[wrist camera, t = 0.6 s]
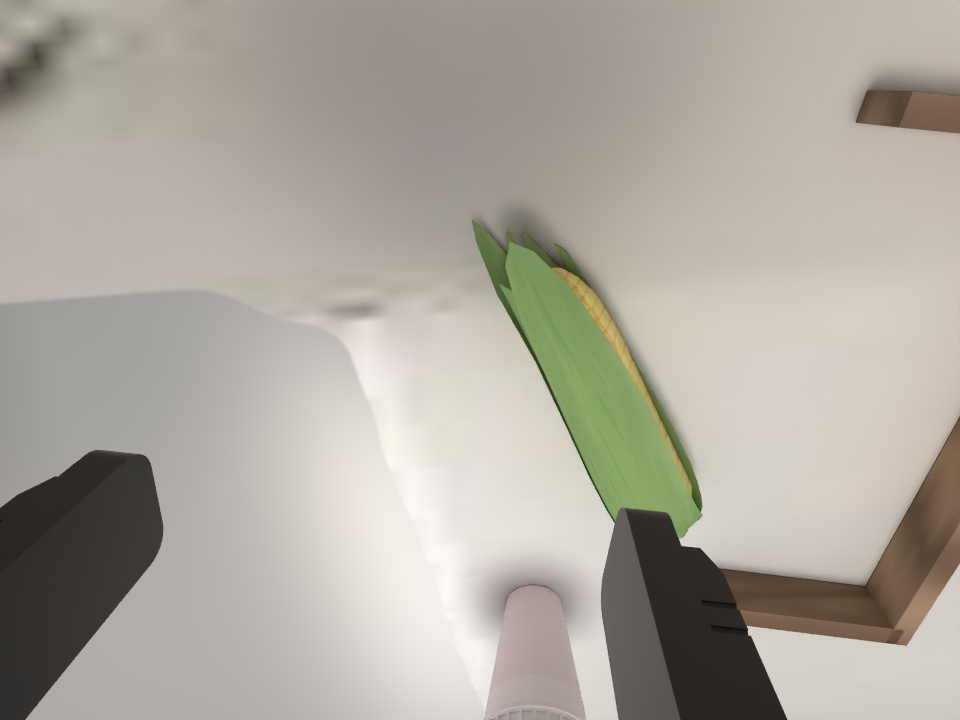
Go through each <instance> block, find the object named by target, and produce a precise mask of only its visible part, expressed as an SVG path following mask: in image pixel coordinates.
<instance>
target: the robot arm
mask: <svg viewBox="0 0 960 720" xmlns="http://www.w3.org/2000/svg"><path fill="white" fill-rule="evenodd" d="M162 537H163V522H162V517H161V512H160V507H159V502H158V497H157V493H156V487H155V482H154V477H153V472H152V467H151V463H150V461H149V460H148V458H147V457H146V456H144V455H141V454H133V453H123V452H113V451H104V450H95V451H91V452H89V453H88V454H86V455H85V456H83V457H82V458H81V459H80V460H78V462H76V463H75V464H73V465H72V466H71V467H70V468H69V469H67V470H66V471H65V472H63V473H62V474H61V475H60V476H58V477H53V478H51V479H49V480H47V481H45V482H43V483H41V484H39V485H37V486H35V487H33V488H31V489H29V490H27V491H24V492H22V493H20V494H18V495H17V496H15V497H14V498H13V499H11V500H10V501H9V502H8V503H6V504H5V505H4V506H2V507H1V508H0V720H25V719H26V718H27V717H28V715H29V714H30V713H31V712H32V710H33V709H34V708H35V707H36V706H37V704H38V703H39V701H41V699H42V698H43V697H44V696H45V694H46V693H47V692H48V690H49V689H50V688H51V687H52V686H53V684H54V683H55V682H56V681H57V680H58V678H59V677H60V676H61V675H62V673H63V672H64V671H65V670H66V668H67V667H68V666H69V665H70V664H71V662H72V661H73V660H74V659H75V657H76V656H77V655H78V654H79V652H80V651H81V650H82V649H83V647H84V646H85V645H86V644H87V642H88V641H89V640H90V639H91V638H92V636H93V635H94V634H95V633H96V631H97V630H98V629H99V628H100V626H101V625H102V624H103V623H104V622H105V620H106V619H107V618H108V617H109V615H110V614H111V613H112V612H113V610H114V609H115V608H116V607H117V605H118V604H119V603H120V602H121V601H122V599H123V598H124V597H125V596H126V594H127V593H128V592H129V591H130V590H131V588H132V587H133V586H134V585H135V583H136V582H137V581H138V580H139V578H140V577H141V576H142V575H143V573H144V572H145V571H146V570H147V569H148V567H149V566H150V565H151V563H152V562H153V561H154V559H155V557H156V555H157V553H158V551H159V549H160V546H161V542H162ZM601 609H602V618H603V624H604V630H605V637H606V643H607V649H608V655H609V662H610V668H611V674H612V680H613V687H614V693H615V699H616V705H617V712H618V718H619V720H787V718H786V715H785V713H784V711H783V709H782V706H781V704H780V702H779V699H778V697H777V695H776V692H775V690H774V688H773V686H772V683H771V681H770V679H769V676H768V674H767V672H766V670H765V667H764V665H763V663H762V660H761V658H760V656H759V653H758V651H757V649H756V647H755V644H754V642H753V640H752V637H751V636H748V628H747V626H746V624H745V621H744V619H743V617H742V614H741V612H740V610H737V603H736V601H735V598H734V596H733V594H732V591H731V589H730V587H729V585H728V582H727V580H726V578H725V575H724V574H723V573H722V572H721V570H720V569H719V568H718V567H717V566H716V565H715V564H714V563H713V562H712V561H711V560H710V558H709V557H708V556H707V555H706V554H705V553H704V552H703V551H702V550H701V549H700V548H694V547H685V546H681V544H680V541H679V538H678V536H677V533H676V530H675V527H674V525H673V522H672V519H671V517H670V515H669V514H668V513H667V512H660V511H651V510H642V509H632V508H623V507H622V508H620V509H619V511H618V514H617V517H616V521H615V526H614V530H613V534H612V539H611V543H610V547H609V552H608V556H607V560H606V565H605V569H604V573H603V579H602V588H601Z"/></svg>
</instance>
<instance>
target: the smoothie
mask: <svg viewBox="0 0 960 720" xmlns="http://www.w3.org/2000/svg"><path fill="white" fill-rule="evenodd" d="M484 720H586V716H585V711H584V706H583V701H582V697H581V693H580V688H579V683H578V679H577V674H576V669H575V664H574V660H573V655H572V650H571V646H570V641H569V636H568V631H567V627H566V622H565V617H564V613H563V608H562V603H561V600H560V598H559V596H558V595H557V594H556V593H555V592H554V591H552V590H551V589H549V588H546V587H543V586H539V585H527V586H522V587H519V588H517V589H515V590H514V591H513V592H511V594H510V595H509V596H508V598H507V602H506V607H505V613H504V618H503V623H502V629H501V634H500V639H499V644H498V650H497V655H496V660H495V666H494V671H493V676H492V682H491V687H490V692H489V697H488V702H487V708H486V714H485V719H484Z"/></svg>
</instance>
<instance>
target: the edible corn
mask: <svg viewBox="0 0 960 720" xmlns="http://www.w3.org/2000/svg"><path fill="white" fill-rule="evenodd" d="M472 222H473V227H474V232H475V237H476V242H477V244H478V247H479V249H480V252H481V255H482V257H483V260H484V262H485V265H486V267H487V270H488V272H489V275H490V277H491V280H492V283H493V285H494V288H495V290H496V293H497V295H498V297H499V298H500V300H501V302H502V304H503V305H504V307H505V309H506V311H507V312H508V314H509V316H510V318H511V319H512V321H513V323H514V325H515V326H516V328H517V330H518V332H519V333H520V335H521V337H522V339H523V340H524V342H525V344H526V346H527V347H528V349H529V351H530V353H531V354H532V356H533V358H534V360H535V361H536V364H537V366H538V368H539V370H540V372H541V374H542V376H543V378H544V380H545V383H546V385H547V387H548V389H549V391H550V393H551V395H552V397H553V400H554V402H555V404H556V406H557V408H558V410H559V412H560V414H561V416H562V419H563V421H564V423H565V425H566V427H567V429H568V431H569V434H570V436H571V438H572V440H573V442H574V444H575V447H576V449H577V451H578V453H579V455H580V458H581V460H582V462H583V464H584V466H585V468H586V471H587V473H588V475H589V477H590V479H591V481H592V483H593V485H594V487H595V489H596V491H597V492H598V494H599V496H600V498H601V500H602V502H603V504H604V506H605V508H606V510H607V511H608V513H609V514H610V516H611V518H612V519H613V521H614V523H615V521H616V517H617V514H618V511H619V509H620V508H622V507H623V508H632V509H642V510H651V511H660V512H667V513H668V514H669V515H670V517H671V519H672V522H673V525H674V527H675V530H676V533H677V536H678V538H679V539H680V538H682V537H684V536H685V534H686V532H687V531H688V530H687V529H688V528H689V527H690V526H692V525H693V524H694V523H695V522H696V521H697V520H699V519H700V518H701V517H702V516H703V515H702V514H701V510H702V499H701V494H700V490H699V486H698V482H697V480H696V477H695V474H694V472H693V469H692V466H691V464H690V462H689V460H688V457H687V455H686V453H685V451H684V449H683V447H682V445H681V443H680V441H679V439H678V437H677V435H676V433H675V431H674V430H673V428H672V426H671V424H670V422H669V420H668V419H667V417H666V415H665V413H664V411H663V410H662V408H661V406H660V404H659V402H658V400H657V399H656V397H655V395H654V393H653V392H652V390H651V388H650V387H649V385H648V383H647V381H646V380H645V378H644V376H643V375H642V373H641V371H640V369H639V368H638V366H637V364H636V363H635V361H634V359H633V357H632V356H631V354H630V352H629V350H628V348H627V346H626V344H625V342H624V340H623V338H622V336H621V333H620V331H619V329H618V327H617V326H616V324H615V323H614V321H613V319H612V318H611V316H610V314H609V313H608V311H607V310H606V308H605V306H604V305H603V303H602V301H601V300H600V298H599V296H598V295H597V294H596V293H595V292H593V291H592V290H591V288H590V287H589V285H588V284H587V282H586V281H585V279H584V278H583V276H582V275H581V273H580V272H579V270H578V269H577V267H576V266H575V264H574V263H573V261H572V260H571V258H570V257H569V255H568V254H567V252H565V251H564V250H563V249H561V248H560V247H559V246H557V245H556V244H555V243H554V244H555V246H556V248H557V250H558V252H559V254H560V256H561V258H562V260H563V262H564V264H565V266H566V268H567V270H568V271H566V270H564V269H562V268H559V267H558V266H557V265H556V264H555V263H554V262H553V261H552V260H551V259H550V258H549V256H548V255H547V254H546V253H545V252H544V251H543V250H542V249H541V248H540V247H539V246H538V245H537V244H536V243H535V242H534V241H533V240H532V239H531V238H530V237H529V236H528V235H526V234H524V233H521V234H522V237H523V240H524V243H525V246H526V248H524V247H522V246H519V245H517V244H515V242H514V240H513V238H512V236H511V234H510V232H509V230H508V254H507V255H506V253H505V252H504V251H503V250H502V249H501V248H500V246H499V245H498V244H497V243H496V242H495V241H494V239H493V238H492V237H491V236H490V235H489V234H488V232H486V231H485V230H484V229H483V228H482V227H480V226H479V225H478V224H477V223H476V222H474V221H473V220H472Z"/></svg>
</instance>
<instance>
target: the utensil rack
mask: <svg viewBox="0 0 960 720" xmlns="http://www.w3.org/2000/svg"><path fill="white" fill-rule="evenodd" d="M856 123H865V124H874V125H883V126H892V127H901V128H911V129H921V130H931V131H942V132H952V133H960V96H955V95H944V94H934V93H924V92H913V91H867V94H866V96H865V99H864V102H863V105H862V107H861V110H860V113H859V116H858V119H857V121H856ZM959 564H960V419H959V420H958V422H957V424H956V426H955V427H954V429H953V431H952V433H951V435H950V436H949V438H948V440H947V442H946V444H945V445H944V447H943V449H942V451H941V453H940V454H939V456H938V458H937V460H936V461H935V463H934V465H933V467H932V469H931V470H930V472H929V474H928V476H927V478H926V479H925V481H924V483H923V485H922V487H921V488H920V490H919V492H918V494H917V495H916V497H915V499H914V501H913V503H912V504H911V506H910V508H909V510H908V512H907V513H906V515H905V517H904V519H903V521H902V522H901V524H900V526H899V528H898V529H897V531H896V533H895V535H894V537H893V538H892V540H891V542H890V544H889V546H888V547H887V549H886V551H885V553H884V555H883V556H882V558H881V560H880V562H879V563H878V565H877V567H876V569H875V571H874V572H873V574H872V576H871V578H870V580H869V581H868V583H867V585H866V587H864V586H856V585H847V584H839V583H831V582H823V581H815V580H806V579H798V578H790V577H782V576H774V575H765V574H757V573H749V572H741V571H733V570H724V569H720V570H721V572H722V573H723V574H724V575H725V578H726V580H727V582H728V585H729V587H730V589H731V591H732V594H733V596H734V598H735V601H736V603H737V610H740V612H741V614H742V617H743V619H744V621H745V624H746V626H753V627H761V628H769V629H777V630H785V631H793V632H801V633H809V634H817V635H825V636H833V637H841V638H849V639H857V640H865V641H873V642H881V643H889V644H897V645H905V646H907V644H908V643H909V641H910V639H911V638H912V636H913V635H914V633H915V632H916V630H917V629H918V627H919V626H920V624H921V622H922V621H923V619H924V618H925V616H926V615H927V613H928V612H929V610H930V609H931V607H932V606H933V604H934V602H935V601H936V599H937V598H938V596H939V595H940V593H941V592H942V590H943V589H944V587H945V585H946V584H947V582H948V581H949V579H950V578H951V576H952V575H953V573H954V572H955V570H956V569H957V567H958V565H959Z"/></svg>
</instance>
